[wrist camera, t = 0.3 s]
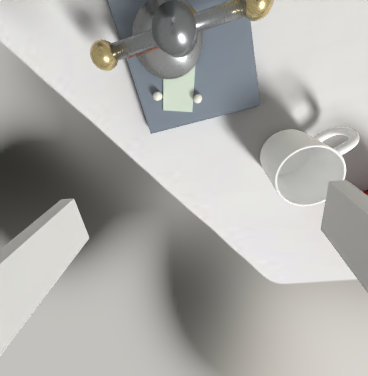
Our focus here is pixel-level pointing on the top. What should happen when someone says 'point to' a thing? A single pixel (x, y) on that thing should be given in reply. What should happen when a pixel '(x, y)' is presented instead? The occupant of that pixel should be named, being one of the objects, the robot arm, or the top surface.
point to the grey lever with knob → (172, 35)
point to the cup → (305, 163)
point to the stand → (196, 73)
